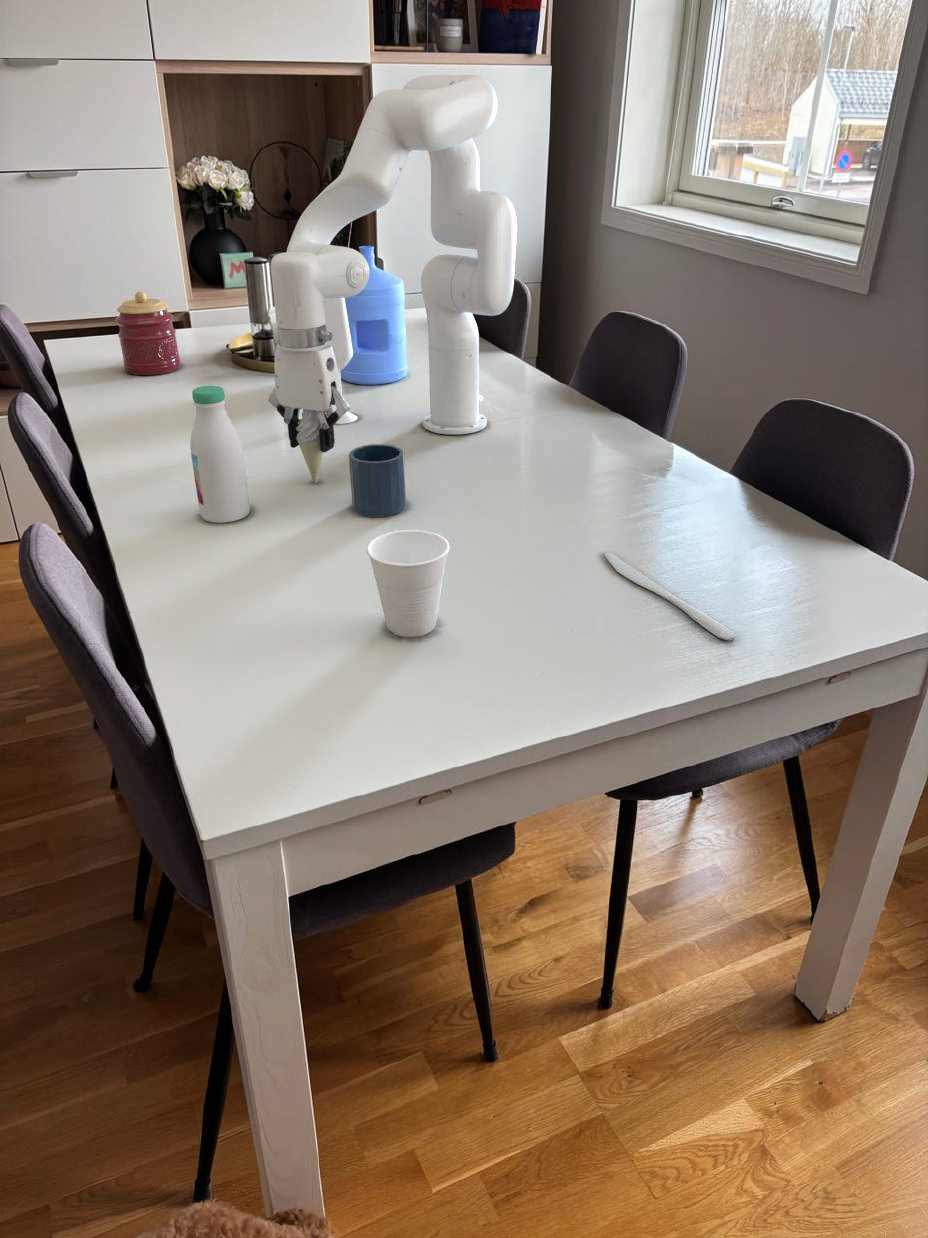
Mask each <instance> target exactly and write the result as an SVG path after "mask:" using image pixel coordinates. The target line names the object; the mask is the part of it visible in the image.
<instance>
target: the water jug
mask: <svg viewBox="0 0 928 1238" xmlns="http://www.w3.org/2000/svg"><path fill="white" fill-rule="evenodd" d="M358 249H359V253H361V254H362V255H363V256H364V258H365V259H366V261H367V263H368V266H369V279H368V282H367V284H366V286H365V288H364V289H363V290H362V291H361V292H360V293H358V294H356V295H354V296H352V297H348V298H345V304H346V311H347V317H348V323H349V330H350V336H351V342H352V349H353V356H352V358H351V360H350V362H349V363H348V364H347V365H346V366H345V367H344V368H343V369H342V370H340V375H341V380H343V381H345V382H348V383H351V384H356V385H365V386H366V385H367V386H372V385H373V386H374V385H385V384H391V383H395V382H398V381H400V380H402V379H404V378H406V376H407V375H408V363H407V329H406V318H405V317H406V316H405V315H406V314H405V313H406V311H405V301H406V299H405V288H404V281H403V279H401V278H400V277H397V276H395V275H393V274H392V273H389V272H387V271H386V270H383V269H381V268H379V267H377V265H376V264H375V254H374V249H375V247H374V245H372V246H371V245H362V246H359V247H358Z"/></svg>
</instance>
